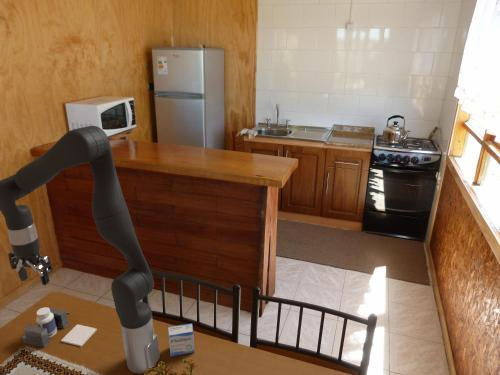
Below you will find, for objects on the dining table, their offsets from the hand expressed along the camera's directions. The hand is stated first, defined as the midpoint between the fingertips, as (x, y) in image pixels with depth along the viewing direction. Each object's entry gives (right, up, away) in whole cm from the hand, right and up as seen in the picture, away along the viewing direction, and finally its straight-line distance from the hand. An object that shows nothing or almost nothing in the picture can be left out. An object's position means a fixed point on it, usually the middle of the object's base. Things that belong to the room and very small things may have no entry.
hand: (35, 281), depth 122 cm
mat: (+11, -20, +7) cm, 24 cm away
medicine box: (+48, -23, +1) cm, 53 cm away
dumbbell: (-1, -20, +9) cm, 22 cm away
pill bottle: (0, -20, +8) cm, 22 cm away
